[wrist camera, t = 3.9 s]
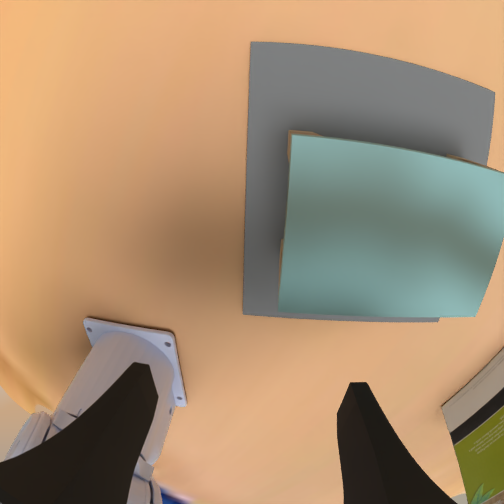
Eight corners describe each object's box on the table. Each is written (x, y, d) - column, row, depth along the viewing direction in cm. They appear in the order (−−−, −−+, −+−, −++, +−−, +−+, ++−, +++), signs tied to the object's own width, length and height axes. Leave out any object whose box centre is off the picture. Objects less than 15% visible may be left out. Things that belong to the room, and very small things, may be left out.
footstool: (438, 270, 17) (475, 316, 12) (279, 259, 17) (277, 311, 13) (463, 157, 14) (517, 178, 9) (288, 129, 14) (292, 135, 10)
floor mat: (435, 318, 19) (437, 322, 19) (243, 310, 20) (242, 314, 20) (491, 92, 12) (495, 92, 12) (251, 43, 13) (250, 41, 12)
